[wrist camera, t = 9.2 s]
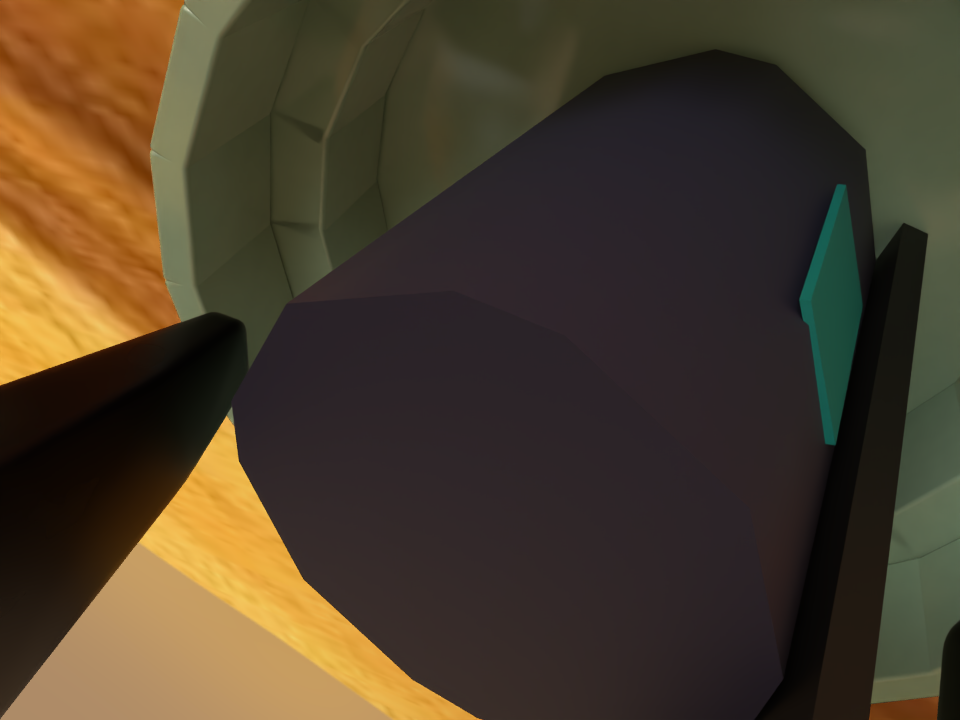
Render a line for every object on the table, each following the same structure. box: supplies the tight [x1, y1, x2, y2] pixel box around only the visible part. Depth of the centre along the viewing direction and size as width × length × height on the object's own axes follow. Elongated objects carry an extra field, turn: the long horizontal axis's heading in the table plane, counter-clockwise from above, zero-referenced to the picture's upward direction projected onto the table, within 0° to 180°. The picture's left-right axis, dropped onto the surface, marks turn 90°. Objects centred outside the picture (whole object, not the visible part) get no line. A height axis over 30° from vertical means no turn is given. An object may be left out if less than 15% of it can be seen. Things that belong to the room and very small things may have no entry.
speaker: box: [231, 49, 928, 720], centre depth 10 cm, size 8×6×10 cm
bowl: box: [150, 0, 960, 704], centre depth 12 cm, size 14×14×5 cm
